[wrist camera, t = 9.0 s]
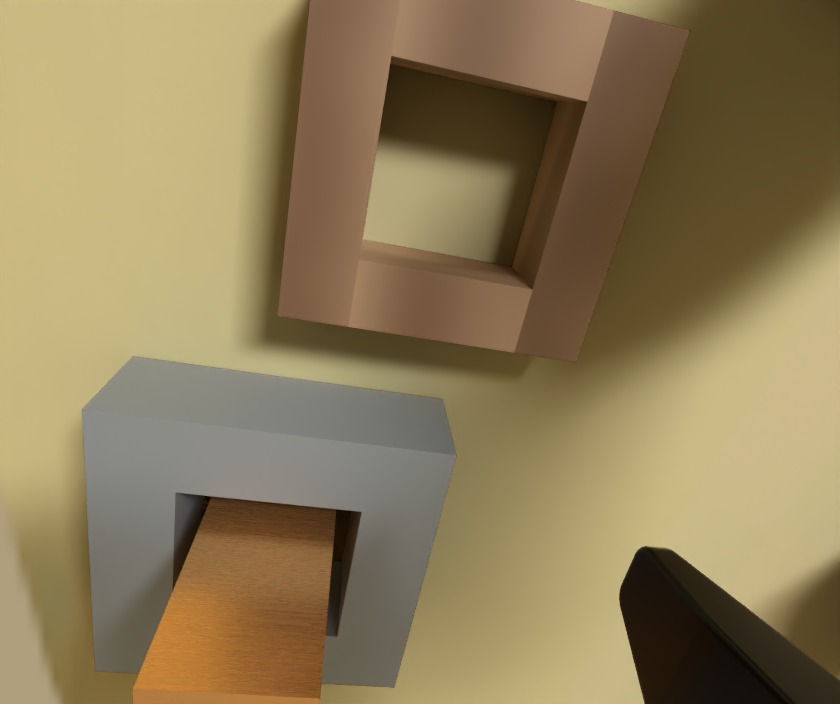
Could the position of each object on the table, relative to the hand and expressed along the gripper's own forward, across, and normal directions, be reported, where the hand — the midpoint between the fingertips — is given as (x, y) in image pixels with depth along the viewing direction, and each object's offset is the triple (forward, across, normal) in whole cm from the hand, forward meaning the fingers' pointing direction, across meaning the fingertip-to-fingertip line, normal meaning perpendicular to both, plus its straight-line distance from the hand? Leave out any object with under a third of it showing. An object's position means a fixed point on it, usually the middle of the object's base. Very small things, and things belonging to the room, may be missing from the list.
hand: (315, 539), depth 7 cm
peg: (+11, +2, +9) cm, 15 cm away
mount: (+12, -2, -4) cm, 12 cm away
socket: (+11, +2, +9) cm, 15 cm away
